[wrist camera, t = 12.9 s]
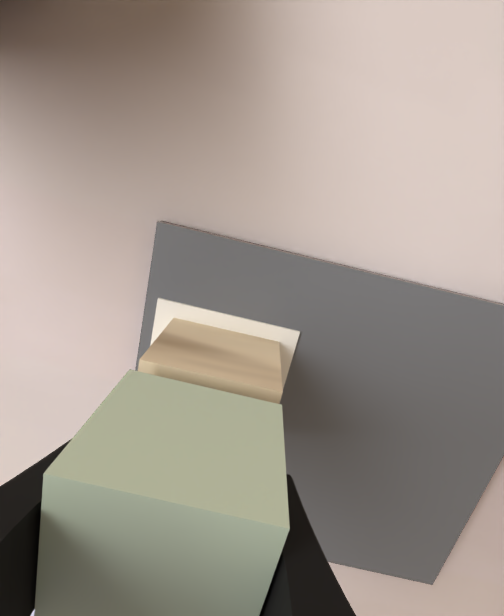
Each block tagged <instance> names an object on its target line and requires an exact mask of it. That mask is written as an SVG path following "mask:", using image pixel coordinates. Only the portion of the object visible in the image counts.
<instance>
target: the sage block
mask: <svg viewBox="0 0 504 616" xmlns="http://www.w3.org/2000/svg"><path fill="white" fill-rule="evenodd" d="M289 529H290V525H289V509H288V493H287V477H286V461H285V445H284V429H283V413H282V405H281V404H277V403H272V402H268V401H264V400H259V399H255V398H251V397H246V396H242V395H238V394H234V393H229V392H225V391H221V390H216V389H212V388H208V387H203V386H199V385H195V384H191V383H186V382H182V381H178V380H173V379H169V378H165V377H160V376H156V375H152V374H148V373H143V372H139V371H135V370H129V371H128V372H127V373H126V374H125V376H124V377H123V378H122V379H121V381H120V382H119V383H118V384H117V385H116V387H115V388H114V389H113V390H112V391H111V393H110V394H109V395H108V396H107V397H106V399H105V400H104V401H103V402H102V403H101V405H100V406H99V407H98V408H97V409H96V411H95V412H94V413H93V414H92V416H91V417H90V418H89V419H88V420H87V422H86V423H85V424H84V425H83V426H82V428H81V429H80V430H79V431H78V432H77V434H76V435H75V436H74V437H73V438H72V440H71V441H70V442H69V443H68V444H67V446H66V447H65V448H64V449H63V451H62V452H61V453H60V454H59V455H58V457H57V458H56V459H55V460H54V461H53V463H52V464H51V465H50V466H49V467H48V469H47V470H46V471H45V472H44V473H43V488H42V504H41V519H40V535H39V550H38V565H37V581H36V596H35V611H34V616H259V615H260V612H261V609H262V606H263V603H264V600H265V598H266V595H267V592H268V589H269V586H270V583H271V580H272V578H273V575H274V572H275V569H276V566H277V563H278V561H279V558H280V555H281V552H282V549H283V546H284V544H285V541H286V538H287V535H288V532H289Z"/></svg>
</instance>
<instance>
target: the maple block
mask: <svg viewBox="0 0 504 616" xmlns="http://www.w3.org/2000/svg"><path fill="white" fill-rule="evenodd" d="M138 371H139V372H143V373H148V374H152V375H156V376H160V377H165V378H169V379H173V380H178V381H182V382H186V383H191V384H195V385H199V386H203V387H208V388H212V389H216V390H221V391H225V392H229V393H234V394H238V395H242V396H246V397H251V398H255V399H259V400H264V401H268V402H272V403H277V404H279V403H280V400H281V396H282V393H283V388H282V374H281V360H280V346H279V342H278V341H274V340H269V339H265V338H261V337H256V336H252V335H247V334H243V333H239V332H234V331H230V330H226V329H221V328H217V327H213V326H208V325H204V324H200V323H195V322H191V321H187V320H182V319H178V318H173V319H172V320H171V321H170V323H169V324H168V325H167V326H166V328H165V329H164V330H163V331H162V332H161V334H160V335H159V336H158V337H157V339H156V340H155V341H154V342H153V343H152V345H151V346H150V347H149V348H148V350H147V351H146V352H145V353H144V354H143V356H142V357H141V358H140V359H139V366H138Z"/></svg>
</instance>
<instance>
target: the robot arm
mask: <svg viewBox="0 0 504 616" xmlns="http://www.w3.org/2000/svg"><path fill="white" fill-rule="evenodd" d="M71 440H72V439H71ZM71 440H69V441H68V442H66V443H65V444H64V445H62V446H61V447H59V448H58V449H56V450H55V451H53V452H52V453H50V454H49V455H48V456H46V457H45V458H43V459H42V460H40V461H39V462H37V463H36V464H34V465H33V466H31V467H29V468H28V469H26V470H25V471H23V472H22V473H20V474H19V475H17V476H16V477H14V478H13V479H11V480H10V481H8V482H6V483H5V484H3V485H2V486H0V616H34V611H35V596H36V581H37V565H38V550H39V535H40V519H41V504H42V488H43V473H44V472H45V471H46V470H47V469H48V467H49V466H50V465H51V464H52V463H53V461H54V460H55V459H56V458H57V457H58V455H59V454H60V453H61V452H62V451H63V449H64V448H65V447H66V446H67V444H68V443H69V442H70V441H71ZM286 477H287V493H288V509H289V525H290V529H289V532H288V535H287V538H286V541H285V544H284V546H283V549H282V552H281V555H280V558H279V561H278V563H277V566H276V569H275V572H274V575H273V578H272V580H271V583H270V586H269V589H268V592H267V595H266V598H265V600H264V603H263V606H262V609H261V612H260V615H259V616H356V615H355V613H354V611H353V610H352V608H351V606H350V604H349V602H348V600H347V598H346V597H345V595H344V593H343V591H342V589H341V587H340V585H339V583H338V581H337V579H336V577H335V575H334V573H333V571H332V569H331V567H330V565H329V563H328V561H327V559H326V557H325V555H324V553H323V551H322V548H321V546H320V544H319V542H318V540H317V537H316V535H315V533H314V531H313V529H312V526H311V524H310V522H309V519H308V517H307V514H306V512H305V510H304V507H303V505H302V502H301V500H300V497H299V494H298V492H297V489H296V486H295V484H294V481H293V478H292V477H291V475H289V474H286Z"/></svg>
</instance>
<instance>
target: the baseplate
mask: <svg viewBox="0 0 504 616" xmlns="http://www.w3.org/2000/svg"><path fill="white" fill-rule="evenodd" d="M173 318H178V319H182V320H187V321H191V322H195V323H200V324H204V325H208V326H213V327H217V328H221V329H226V330H230V331H234V332H239V333H243V334H247V335H252V336H256V337H261V338H265V339H269V340H274V341H278V342H279V346H280V360H281V374H282V388H283V393H282V396H281V400H280V403H279V404H281V405H282V413H283V429H284V445H285V461H286V474H289V475H291V477H292V478H293V481H294V484H295V486H296V489H297V492H298V494H299V497H300V500H301V502H302V505H303V507H304V510H305V512H306V514H307V517H308V519H309V522H310V524H311V526H312V529H313V531H314V533H315V535H316V537H317V540H318V542H319V544H320V546H321V548H322V551H323V553H324V555H325V557H326V559H327V561H328V562H331V563H336V564H340V565H345V566H349V567H354V568H358V569H363V570H367V571H372V572H377V573H381V574H386V575H390V576H395V577H399V578H404V579H408V580H413V581H417V582H422V583H426V584H431V585H433V583H434V581H435V579H436V577H437V576H438V574H439V572H440V570H441V568H442V567H443V565H444V563H445V561H446V559H447V557H448V556H449V554H450V552H451V550H452V548H453V547H454V545H455V543H456V541H457V539H458V538H459V536H460V534H461V532H462V530H463V528H464V527H465V525H466V523H467V521H468V519H469V518H470V516H471V514H472V512H473V510H474V509H475V507H476V505H477V503H478V501H479V500H480V498H481V496H482V494H483V492H484V490H485V489H486V487H487V485H488V483H489V481H490V480H491V478H492V476H493V474H494V472H495V471H496V469H497V467H498V465H499V463H500V461H501V460H502V458H503V456H504V304H501V303H497V302H493V301H489V300H485V299H481V298H476V297H472V296H468V295H464V294H460V293H456V292H452V291H448V290H444V289H439V288H435V287H431V286H427V285H423V284H419V283H415V282H411V281H406V280H402V279H398V278H394V277H390V276H386V275H382V274H378V273H374V272H369V271H365V270H361V269H357V268H353V267H349V266H345V265H341V264H337V263H332V262H328V261H324V260H320V259H316V258H312V257H308V256H304V255H299V254H295V253H291V252H287V251H283V250H279V249H275V248H271V247H267V246H262V245H258V244H254V243H250V242H246V241H242V240H238V239H234V238H229V237H225V236H221V235H217V234H213V233H209V232H205V231H201V230H197V229H192V228H188V227H184V226H180V225H176V224H172V223H168V222H164V221H158V222H157V227H156V234H155V241H154V248H153V254H152V261H151V268H150V275H149V282H148V288H147V295H146V302H145V309H144V315H143V322H142V329H141V336H140V343H139V349H138V356H137V363H136V370H135V371H138V366H139V359H140V358H141V357H142V356H143V354H144V353H145V352H146V351H147V350H148V348H149V347H150V346H151V345H152V343H153V342H154V341H155V340H156V339H157V337H158V336H159V335H160V334H161V332H162V331H163V330H164V329H165V328H166V326H167V325H168V324H169V323H170V321H171V320H172V319H173Z"/></svg>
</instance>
